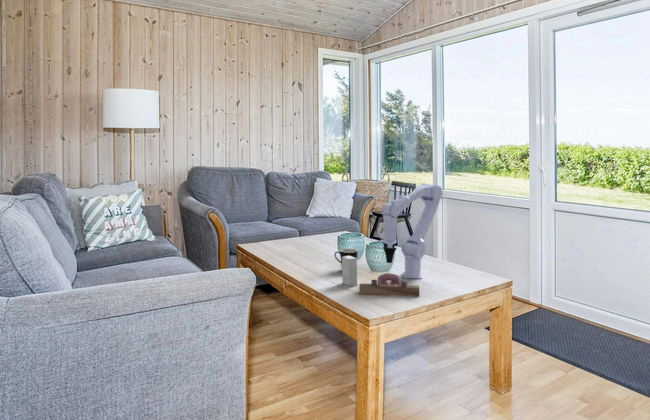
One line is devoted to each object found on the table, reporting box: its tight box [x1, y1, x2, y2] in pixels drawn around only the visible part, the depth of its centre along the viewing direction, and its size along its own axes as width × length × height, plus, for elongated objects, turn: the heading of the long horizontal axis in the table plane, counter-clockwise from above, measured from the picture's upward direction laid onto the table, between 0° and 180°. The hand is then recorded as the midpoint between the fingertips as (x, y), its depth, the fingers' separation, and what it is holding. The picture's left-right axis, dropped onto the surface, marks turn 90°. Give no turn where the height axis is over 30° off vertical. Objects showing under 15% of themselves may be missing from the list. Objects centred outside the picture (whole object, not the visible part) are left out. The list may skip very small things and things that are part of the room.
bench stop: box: [358, 279, 420, 297], centre depth 184 cm, size 3×24×6 cm, turn 82°
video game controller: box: [377, 273, 402, 285], centre depth 194 cm, size 10×5×7 cm, turn 92°
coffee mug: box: [334, 248, 359, 265], centre depth 221 cm, size 12×9×10 cm
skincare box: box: [341, 256, 358, 287], centre depth 197 cm, size 6×4×12 cm
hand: (389, 260), depth 201 cm, fingers open, 7 cm apart
